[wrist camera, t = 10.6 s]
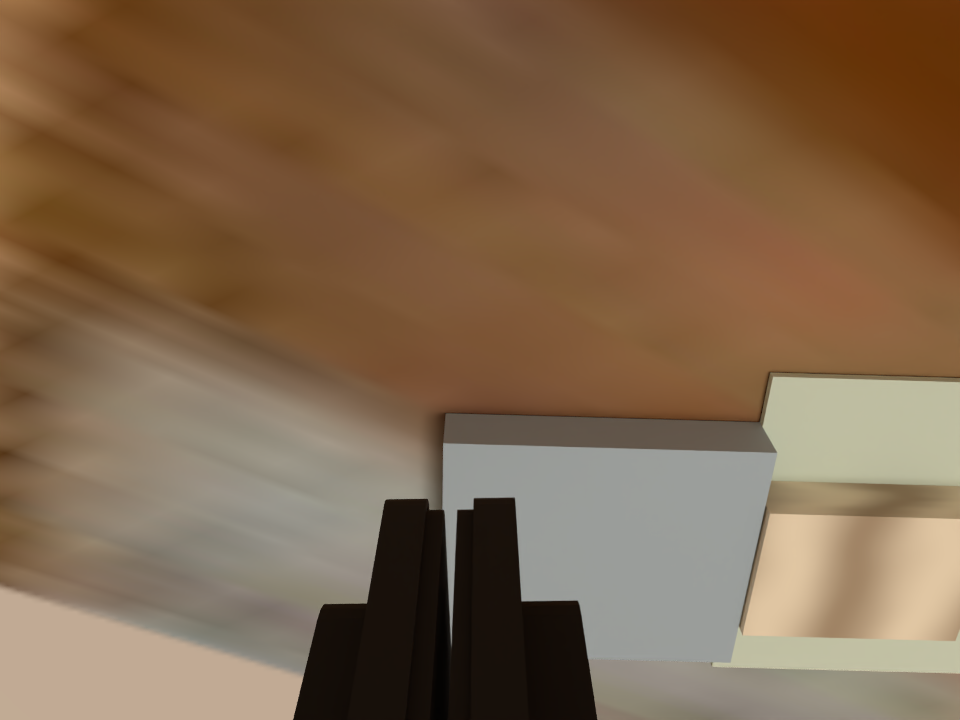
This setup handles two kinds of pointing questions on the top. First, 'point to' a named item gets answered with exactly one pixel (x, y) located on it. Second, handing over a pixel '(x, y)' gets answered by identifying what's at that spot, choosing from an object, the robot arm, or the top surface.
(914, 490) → the birch tile
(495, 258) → the top surface
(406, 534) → the robot arm
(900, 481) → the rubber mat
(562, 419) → the block
